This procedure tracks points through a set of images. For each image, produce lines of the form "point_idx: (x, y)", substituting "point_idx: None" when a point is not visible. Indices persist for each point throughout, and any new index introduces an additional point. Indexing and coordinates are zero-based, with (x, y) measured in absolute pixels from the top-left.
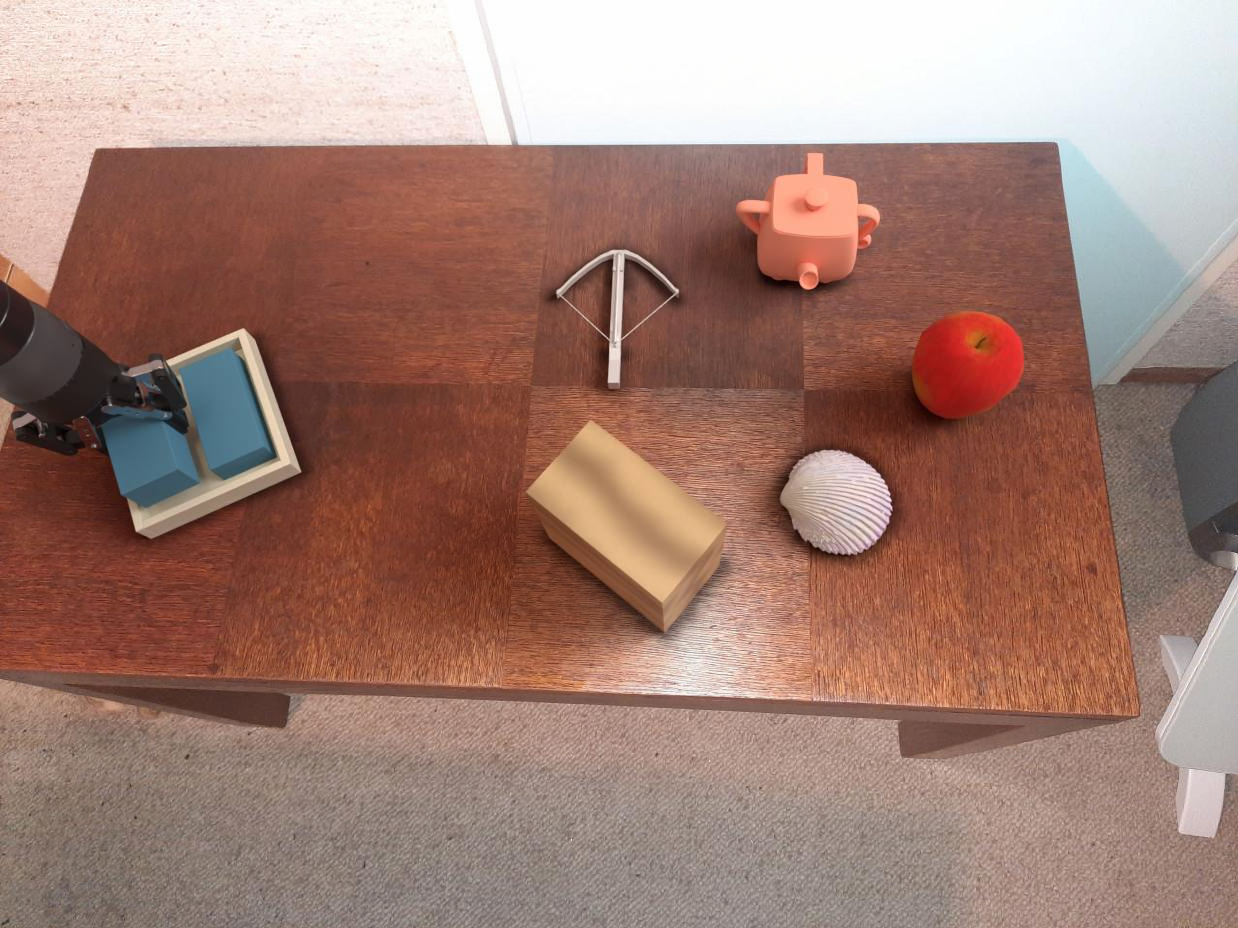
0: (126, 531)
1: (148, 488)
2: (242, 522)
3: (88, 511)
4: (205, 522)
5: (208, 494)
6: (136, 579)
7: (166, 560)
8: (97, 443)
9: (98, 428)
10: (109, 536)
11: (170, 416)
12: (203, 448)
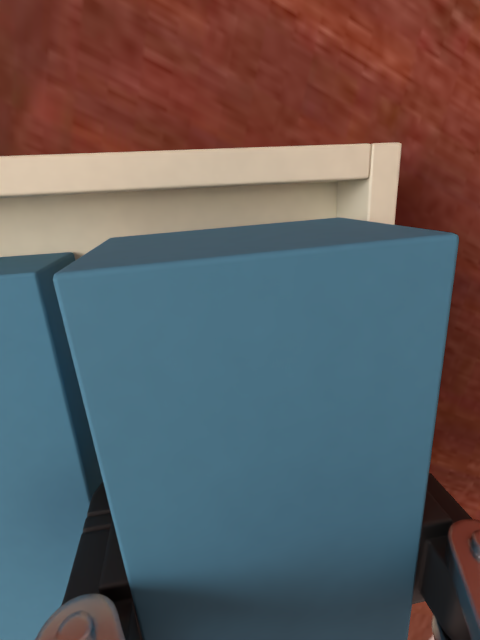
0: (409, 213)
1: (297, 238)
2: (38, 65)
3: (472, 310)
4: (177, 132)
5: (89, 179)
6: (435, 26)
7: (331, 48)
8: (475, 571)
9: (424, 597)
10: (453, 217)
11: (64, 613)
12: (60, 379)
